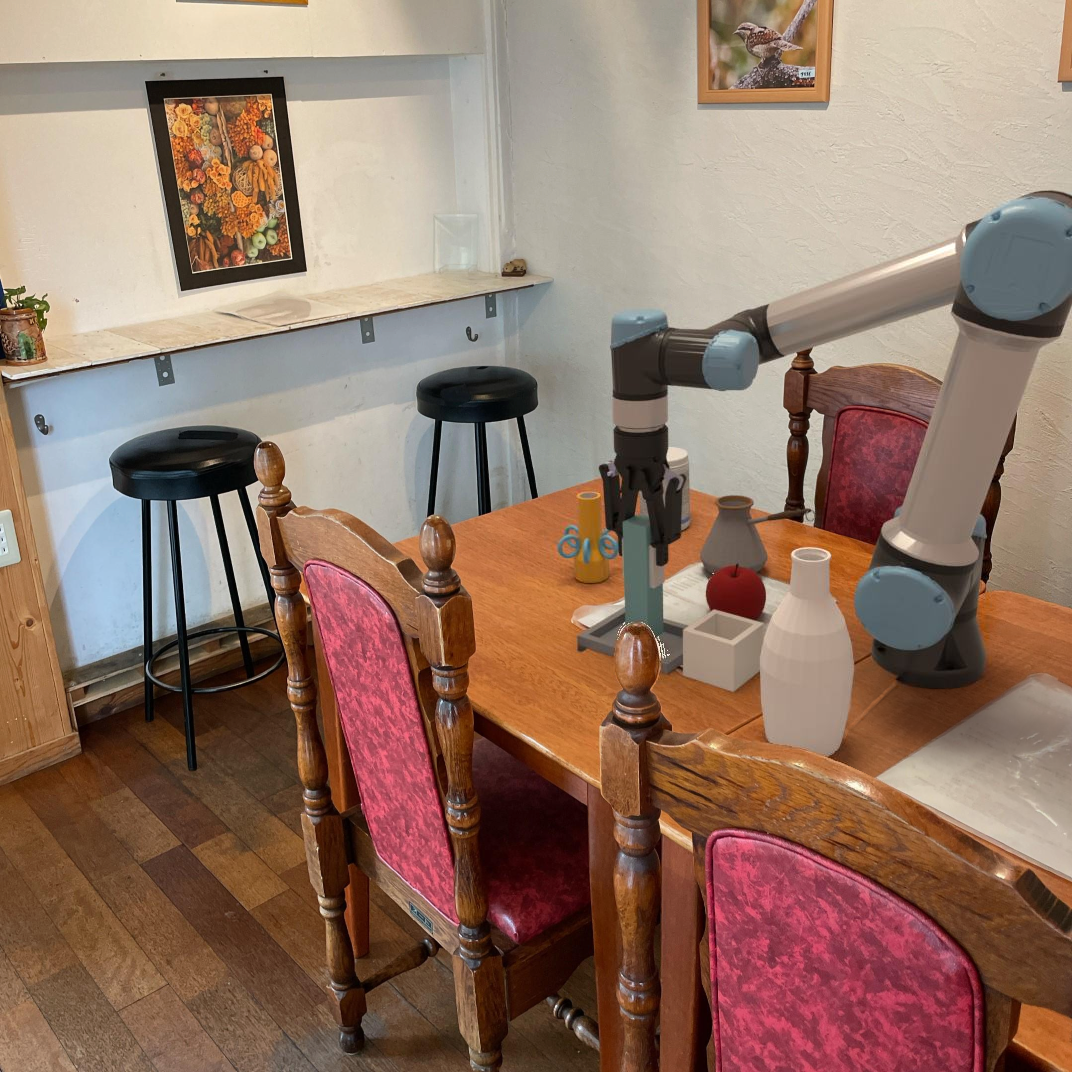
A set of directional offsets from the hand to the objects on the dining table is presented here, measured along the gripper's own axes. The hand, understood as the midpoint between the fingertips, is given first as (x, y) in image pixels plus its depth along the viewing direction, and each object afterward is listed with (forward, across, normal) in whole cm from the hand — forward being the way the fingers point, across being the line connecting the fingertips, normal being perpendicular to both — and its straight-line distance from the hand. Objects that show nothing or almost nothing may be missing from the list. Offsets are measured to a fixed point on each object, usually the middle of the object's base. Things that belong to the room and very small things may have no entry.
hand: (643, 580), depth 154 cm
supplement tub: (+11, +26, -44) cm, 53 cm away
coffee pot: (+11, -1, -32) cm, 34 cm away
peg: (+9, 0, 0) cm, 9 cm away
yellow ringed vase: (+11, +23, -17) cm, 31 cm away
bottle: (+11, -30, +9) cm, 34 cm away
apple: (+11, -6, -16) cm, 21 cm away
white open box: (+11, -14, +1) cm, 18 cm away
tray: (+11, 0, 0) cm, 11 cm away
